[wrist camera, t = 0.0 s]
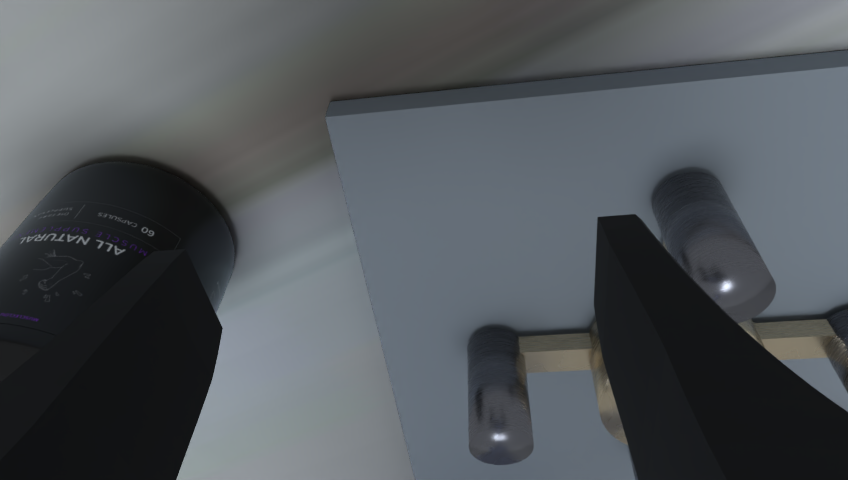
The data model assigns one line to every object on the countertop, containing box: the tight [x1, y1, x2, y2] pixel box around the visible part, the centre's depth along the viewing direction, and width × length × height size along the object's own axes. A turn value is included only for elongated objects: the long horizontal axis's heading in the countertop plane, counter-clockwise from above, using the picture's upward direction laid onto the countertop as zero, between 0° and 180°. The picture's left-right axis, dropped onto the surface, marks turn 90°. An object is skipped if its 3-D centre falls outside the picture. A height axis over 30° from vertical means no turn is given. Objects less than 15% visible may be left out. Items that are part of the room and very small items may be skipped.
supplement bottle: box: [0, 161, 235, 382], centre depth 20 cm, size 7×7×12 cm
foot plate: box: [325, 50, 848, 480], centre depth 26 cm, size 21×24×1 cm
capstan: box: [467, 172, 848, 480], centre depth 23 cm, size 16×16×4 cm
